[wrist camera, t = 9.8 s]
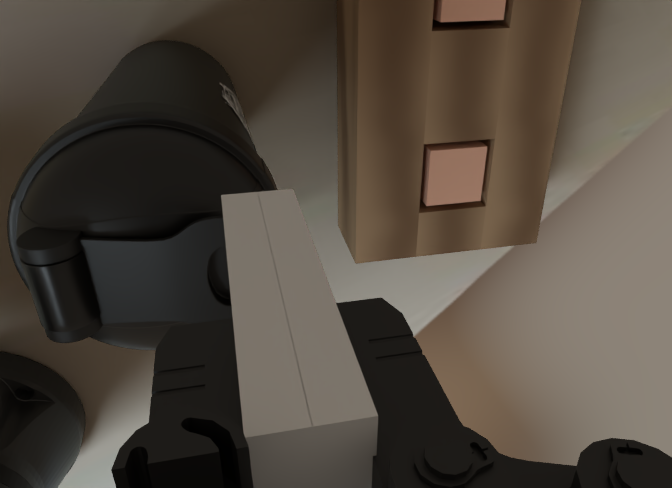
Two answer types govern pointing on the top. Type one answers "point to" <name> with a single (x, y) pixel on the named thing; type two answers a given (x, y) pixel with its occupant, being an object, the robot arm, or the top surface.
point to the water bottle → (136, 202)
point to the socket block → (446, 121)
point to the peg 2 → (452, 172)
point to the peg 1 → (468, 10)
